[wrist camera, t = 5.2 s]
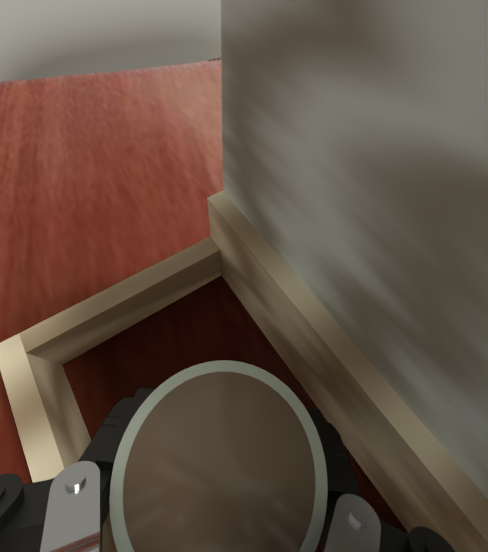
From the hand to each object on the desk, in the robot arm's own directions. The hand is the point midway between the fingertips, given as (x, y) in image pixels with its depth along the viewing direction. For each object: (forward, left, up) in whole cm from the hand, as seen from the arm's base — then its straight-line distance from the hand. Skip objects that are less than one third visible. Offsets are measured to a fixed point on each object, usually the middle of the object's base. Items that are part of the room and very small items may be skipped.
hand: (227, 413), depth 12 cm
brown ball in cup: (+1, -1, -4) cm, 5 cm away
